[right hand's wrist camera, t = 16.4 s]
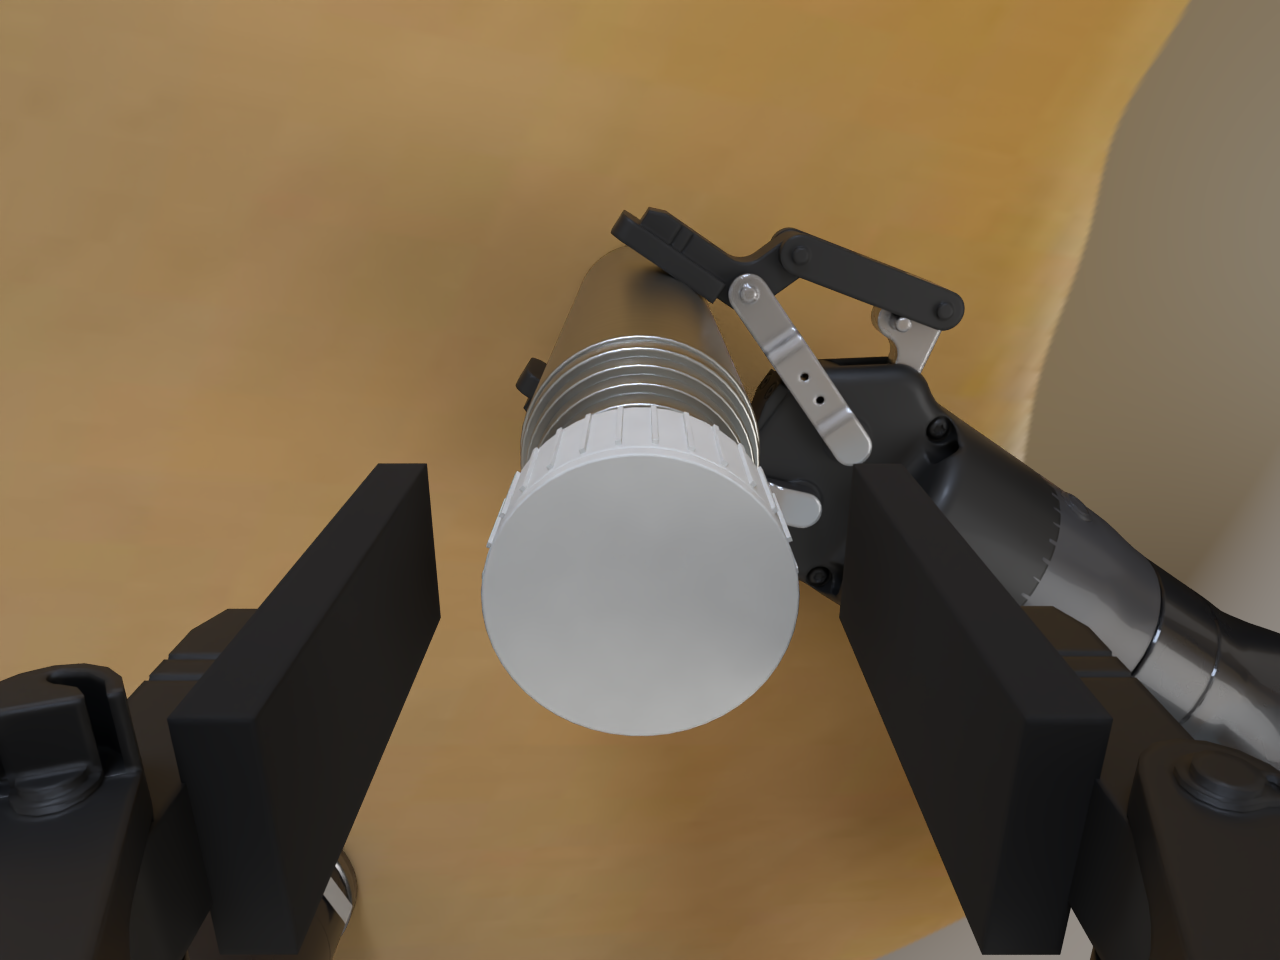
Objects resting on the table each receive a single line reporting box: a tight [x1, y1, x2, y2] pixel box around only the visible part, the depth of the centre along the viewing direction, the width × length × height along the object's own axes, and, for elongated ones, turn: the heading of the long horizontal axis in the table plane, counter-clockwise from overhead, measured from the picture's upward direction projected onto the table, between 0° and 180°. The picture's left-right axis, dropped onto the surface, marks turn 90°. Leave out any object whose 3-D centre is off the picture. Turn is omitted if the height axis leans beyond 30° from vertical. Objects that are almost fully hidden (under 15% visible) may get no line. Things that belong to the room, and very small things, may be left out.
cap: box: [481, 405, 800, 736], centre depth 13 cm, size 4×4×2 cm
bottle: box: [521, 246, 760, 471], centre depth 24 cm, size 5×5×23 cm
